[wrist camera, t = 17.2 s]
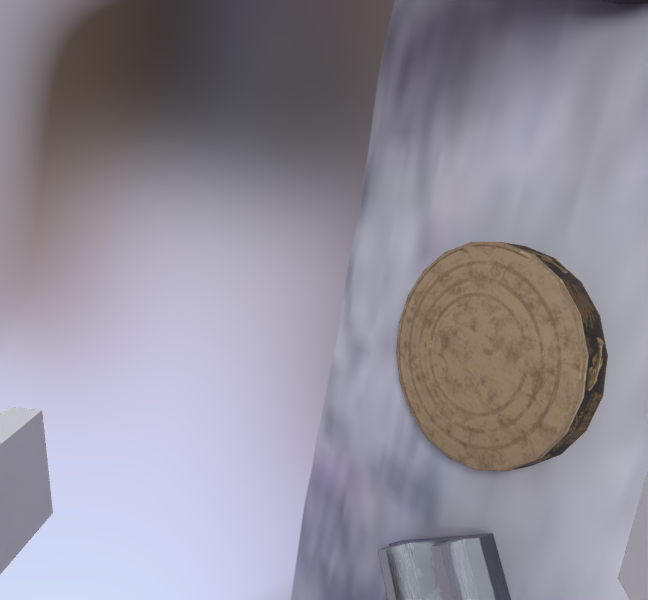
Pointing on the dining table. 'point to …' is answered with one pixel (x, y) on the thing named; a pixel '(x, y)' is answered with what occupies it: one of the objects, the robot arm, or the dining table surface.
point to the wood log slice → (501, 356)
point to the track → (444, 569)
